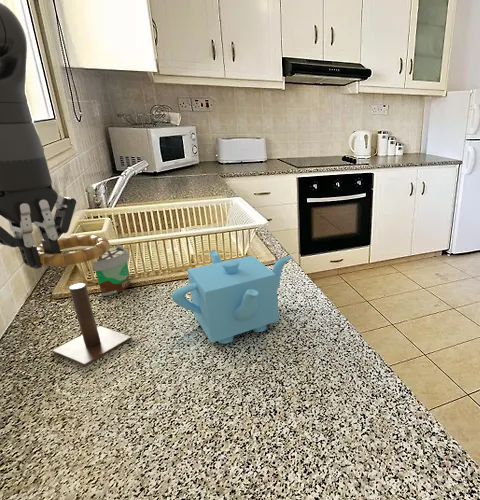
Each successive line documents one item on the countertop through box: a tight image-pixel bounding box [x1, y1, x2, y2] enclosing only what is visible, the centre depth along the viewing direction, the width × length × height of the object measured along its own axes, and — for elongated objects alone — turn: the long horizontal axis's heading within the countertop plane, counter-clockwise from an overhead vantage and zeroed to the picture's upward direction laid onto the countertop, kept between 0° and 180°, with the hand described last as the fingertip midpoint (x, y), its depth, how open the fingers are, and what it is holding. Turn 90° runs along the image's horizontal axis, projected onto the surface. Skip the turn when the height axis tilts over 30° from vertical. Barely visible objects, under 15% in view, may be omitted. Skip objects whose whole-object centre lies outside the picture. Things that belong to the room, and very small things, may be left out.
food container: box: [92, 245, 131, 297], centre depth 91 cm, size 12×6×10 cm, turn 22°
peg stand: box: [51, 282, 133, 368], centre depth 68 cm, size 9×9×14 cm
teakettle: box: [171, 250, 293, 345], centre depth 77 cm, size 19×19×15 cm
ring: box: [36, 234, 111, 267], centre depth 64 cm, size 11×11×2 cm
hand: (44, 263), depth 60 cm, fingers closed on ring, 2 cm apart
